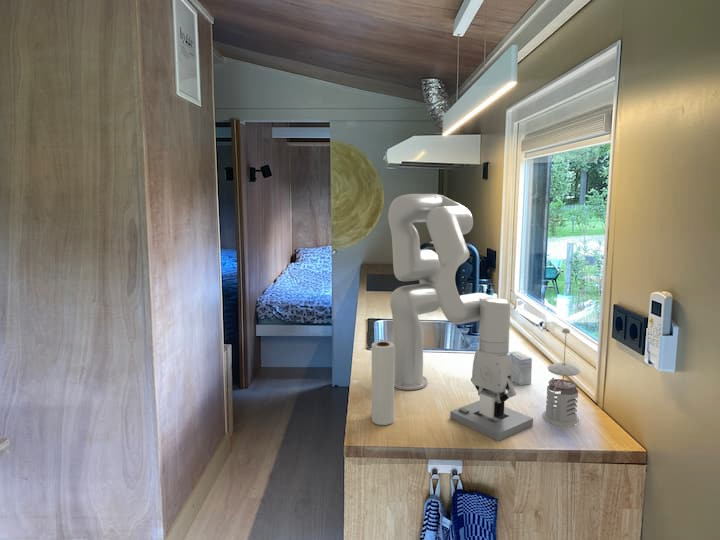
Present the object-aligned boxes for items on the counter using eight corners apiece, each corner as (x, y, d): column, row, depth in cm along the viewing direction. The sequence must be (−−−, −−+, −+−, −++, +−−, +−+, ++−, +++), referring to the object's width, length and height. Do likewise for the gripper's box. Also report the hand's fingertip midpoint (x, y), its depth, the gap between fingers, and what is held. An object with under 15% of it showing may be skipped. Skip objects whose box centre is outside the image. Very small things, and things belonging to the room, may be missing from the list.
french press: (586, 418, 136) (593, 328, 132) (567, 432, 128) (573, 337, 124) (551, 407, 143) (556, 321, 139) (531, 419, 135) (536, 329, 131)
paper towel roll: (388, 427, 131) (388, 348, 128) (367, 422, 134) (367, 345, 131) (399, 417, 137) (400, 341, 134) (379, 412, 140) (380, 338, 137)
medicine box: (531, 384, 160) (532, 358, 159) (519, 385, 159) (520, 359, 158) (517, 375, 168) (518, 350, 167) (505, 377, 167) (506, 351, 165)
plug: (479, 413, 134) (479, 391, 133) (491, 408, 137) (492, 387, 136) (491, 418, 131) (492, 396, 130) (503, 413, 134) (504, 391, 133)
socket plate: (450, 418, 136) (450, 409, 136) (484, 405, 145) (484, 396, 144) (498, 441, 124) (498, 431, 123) (532, 425, 132) (533, 416, 132)
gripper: (459, 341, 135) (458, 406, 138) (511, 356, 122) (509, 428, 125) (478, 336, 140) (476, 399, 142) (530, 350, 127) (527, 419, 129)
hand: (491, 412), depth 134 cm, fingers closed on plug, 4 cm apart
